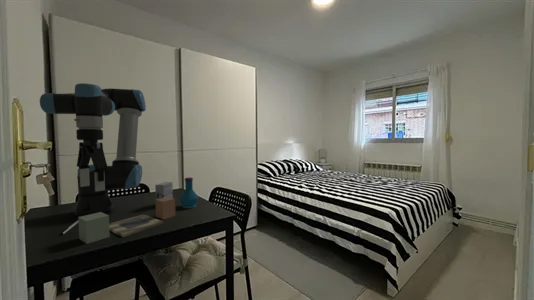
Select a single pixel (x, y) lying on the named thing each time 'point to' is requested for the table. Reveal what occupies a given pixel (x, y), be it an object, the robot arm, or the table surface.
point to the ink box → (164, 190)
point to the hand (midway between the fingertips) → (92, 188)
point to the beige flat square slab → (134, 225)
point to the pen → (69, 228)
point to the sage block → (93, 227)
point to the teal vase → (189, 195)
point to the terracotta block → (165, 207)
